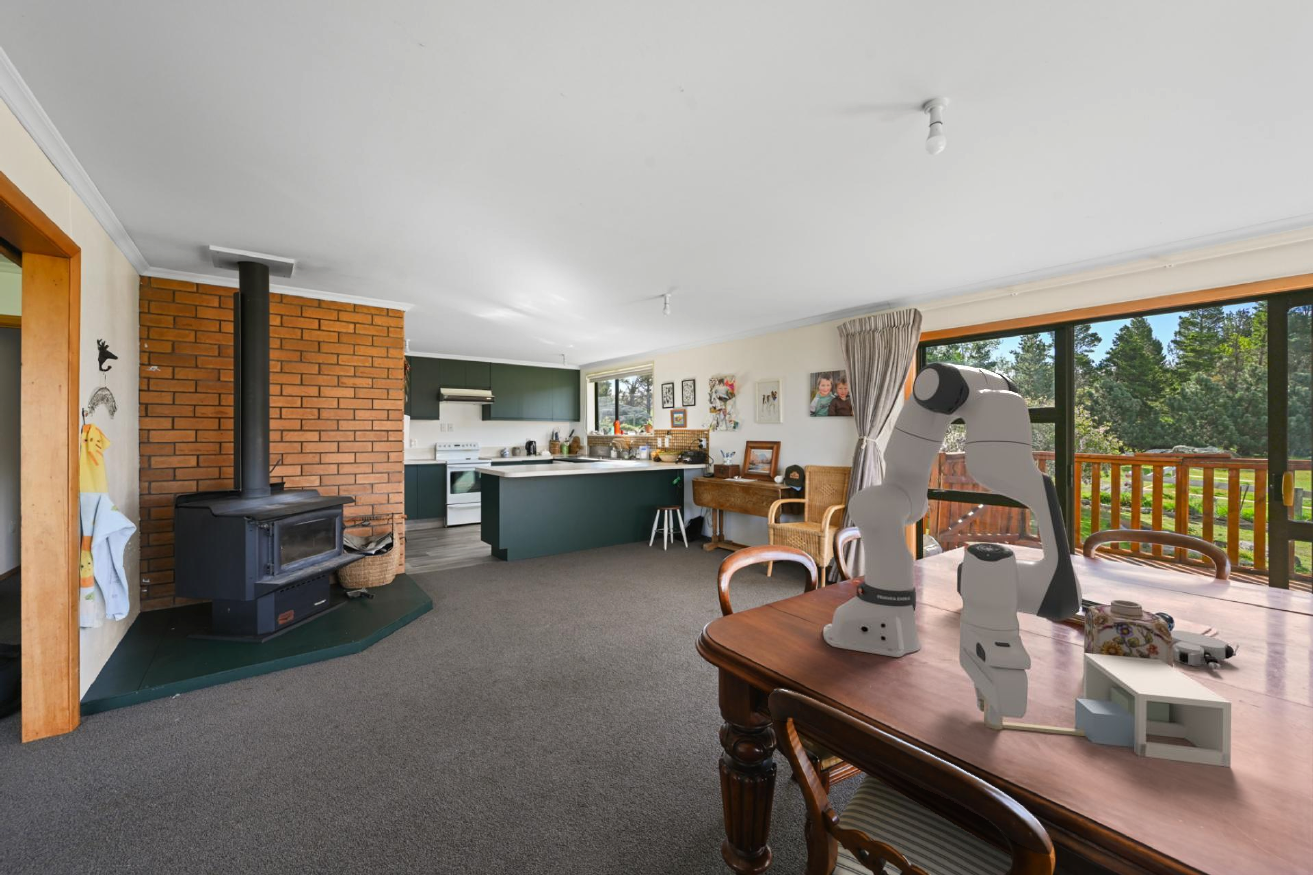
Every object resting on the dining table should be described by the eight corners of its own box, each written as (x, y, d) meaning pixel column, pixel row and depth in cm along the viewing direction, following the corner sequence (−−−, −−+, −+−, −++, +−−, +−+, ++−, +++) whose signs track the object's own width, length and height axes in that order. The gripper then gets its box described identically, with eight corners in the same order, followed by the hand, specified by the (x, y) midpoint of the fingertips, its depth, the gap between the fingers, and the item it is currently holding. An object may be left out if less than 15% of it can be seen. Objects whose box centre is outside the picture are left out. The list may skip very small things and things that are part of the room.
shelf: (1138, 755, 84) (1138, 693, 84) (1083, 705, 100) (1083, 652, 100) (1230, 766, 82) (1231, 702, 81) (1158, 713, 97) (1159, 659, 97)
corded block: (990, 732, 91) (990, 703, 91) (978, 716, 96) (978, 689, 96) (1134, 747, 87) (1134, 716, 87) (1114, 730, 92) (1114, 701, 92)
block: (1127, 728, 92) (1128, 699, 92) (1110, 713, 97) (1110, 686, 97) (1168, 732, 91) (1169, 704, 91) (1149, 717, 96) (1149, 690, 96)
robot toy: (1222, 682, 112) (1240, 660, 120) (1222, 661, 111) (1240, 641, 120) (1146, 661, 122) (1167, 642, 130) (1145, 641, 122) (1166, 624, 130)
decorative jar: (1174, 714, 97) (1175, 616, 97) (1092, 697, 103) (1093, 605, 103) (1156, 687, 107) (1157, 599, 107) (1083, 673, 113) (1083, 590, 113)
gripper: (950, 616, 104) (950, 686, 104) (991, 660, 84) (990, 746, 84) (986, 619, 103) (985, 689, 103) (1036, 664, 83) (1035, 752, 83)
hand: (988, 716), depth 93 cm, fingers closed on corded block, 3 cm apart
